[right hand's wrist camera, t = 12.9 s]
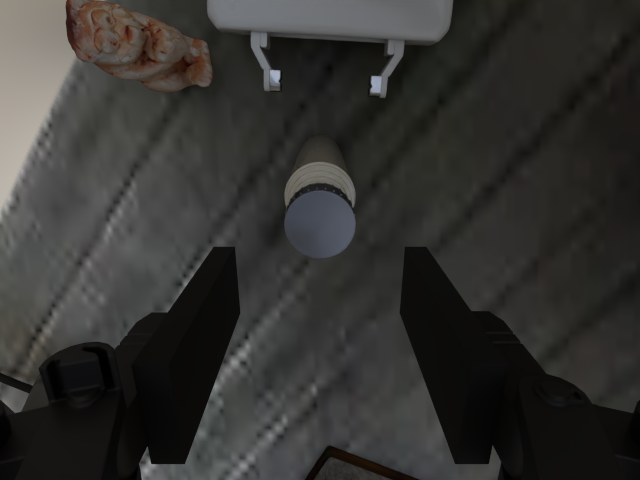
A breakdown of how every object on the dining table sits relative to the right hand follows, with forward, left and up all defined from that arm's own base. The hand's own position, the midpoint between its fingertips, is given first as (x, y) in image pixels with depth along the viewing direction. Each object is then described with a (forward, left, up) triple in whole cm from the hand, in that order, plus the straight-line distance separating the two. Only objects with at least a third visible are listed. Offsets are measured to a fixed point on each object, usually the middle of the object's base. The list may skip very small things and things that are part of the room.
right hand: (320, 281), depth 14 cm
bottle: (0, 0, -31) cm, 31 cm away
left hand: (0, +6, -25) cm, 26 cm away
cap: (0, 0, -7) cm, 7 cm away
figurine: (-15, +8, -31) cm, 35 cm away
